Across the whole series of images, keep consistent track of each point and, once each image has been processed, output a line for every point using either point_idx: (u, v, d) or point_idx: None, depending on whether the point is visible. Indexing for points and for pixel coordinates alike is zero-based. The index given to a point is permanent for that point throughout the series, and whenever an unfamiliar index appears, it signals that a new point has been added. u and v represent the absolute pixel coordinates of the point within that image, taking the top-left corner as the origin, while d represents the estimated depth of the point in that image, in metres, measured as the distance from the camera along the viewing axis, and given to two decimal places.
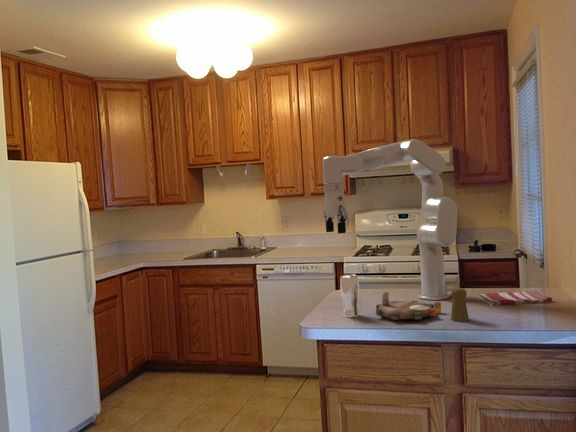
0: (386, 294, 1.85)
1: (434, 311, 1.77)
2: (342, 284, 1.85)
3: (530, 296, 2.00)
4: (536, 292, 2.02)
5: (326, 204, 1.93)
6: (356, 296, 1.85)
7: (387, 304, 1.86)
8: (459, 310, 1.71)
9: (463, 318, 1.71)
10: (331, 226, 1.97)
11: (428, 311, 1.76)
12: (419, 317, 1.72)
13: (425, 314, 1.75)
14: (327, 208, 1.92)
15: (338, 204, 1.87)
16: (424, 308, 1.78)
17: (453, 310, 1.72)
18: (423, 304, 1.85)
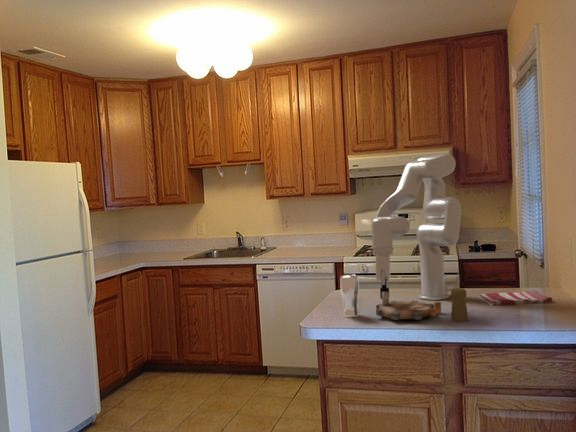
0: (386, 294, 1.85)
1: (434, 311, 1.77)
2: (342, 284, 1.85)
3: (530, 296, 2.00)
4: (536, 292, 2.02)
5: (389, 267, 1.87)
6: (356, 296, 1.85)
7: (387, 304, 1.86)
8: (459, 310, 1.71)
9: (463, 318, 1.71)
10: None
11: (428, 311, 1.76)
12: (419, 317, 1.72)
13: (425, 314, 1.75)
14: None
15: None
16: (424, 308, 1.78)
17: (453, 310, 1.72)
18: (423, 304, 1.85)
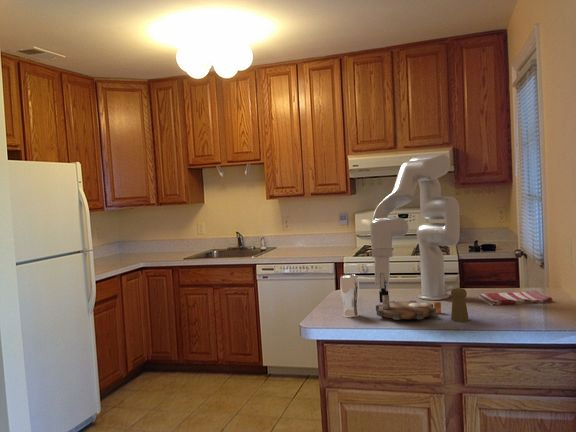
0: (388, 297, 1.80)
1: None
2: (342, 284, 1.85)
3: (530, 296, 1.99)
4: (536, 292, 2.02)
5: (389, 270, 1.81)
6: (356, 296, 1.85)
7: (389, 307, 1.80)
8: (459, 310, 1.71)
9: (463, 318, 1.71)
10: None
11: None
12: (435, 312, 1.77)
13: None
14: (389, 273, 1.82)
15: None
16: (424, 304, 1.84)
17: (453, 310, 1.72)
18: (409, 302, 1.90)
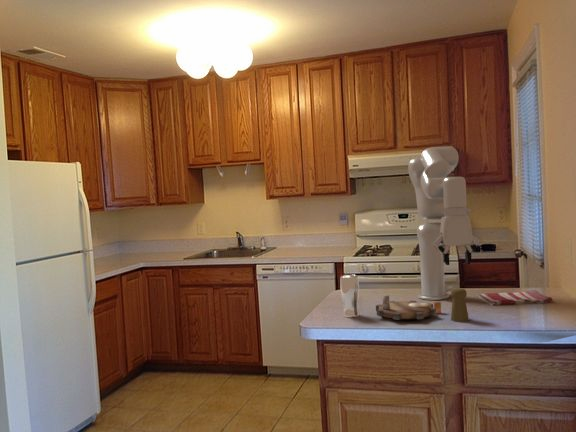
0: (388, 297, 1.80)
1: None
2: (342, 284, 1.85)
3: (530, 296, 1.99)
4: (536, 292, 2.02)
5: (452, 231, 1.70)
6: (356, 296, 1.85)
7: (389, 307, 1.80)
8: (459, 310, 1.71)
9: (463, 318, 1.71)
10: None
11: None
12: (435, 312, 1.77)
13: None
14: (454, 235, 1.70)
15: None
16: (424, 304, 1.84)
17: (453, 310, 1.72)
18: (409, 302, 1.90)
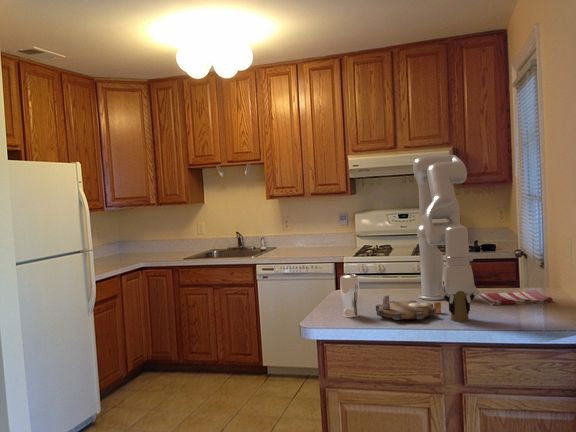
0: (388, 297, 1.80)
1: None
2: (342, 284, 1.85)
3: (530, 296, 1.99)
4: (536, 292, 2.02)
5: (454, 280, 1.71)
6: (356, 296, 1.85)
7: (389, 307, 1.80)
8: (459, 310, 1.71)
9: (463, 318, 1.71)
10: None
11: None
12: (435, 312, 1.77)
13: None
14: (456, 284, 1.71)
15: None
16: (424, 304, 1.84)
17: None
18: (409, 302, 1.90)
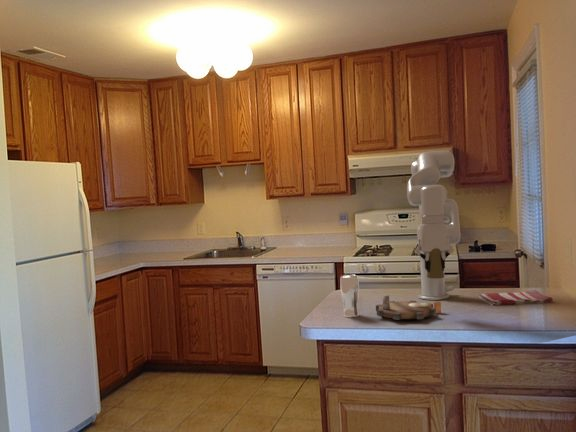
0: (388, 297, 1.80)
1: None
2: (342, 284, 1.85)
3: (530, 296, 1.99)
4: (536, 292, 2.02)
5: (429, 238, 1.76)
6: (356, 296, 1.85)
7: (389, 307, 1.80)
8: (435, 267, 1.76)
9: (438, 274, 1.76)
10: None
11: None
12: (435, 312, 1.77)
13: None
14: (431, 242, 1.76)
15: None
16: (424, 304, 1.84)
17: None
18: (409, 302, 1.90)
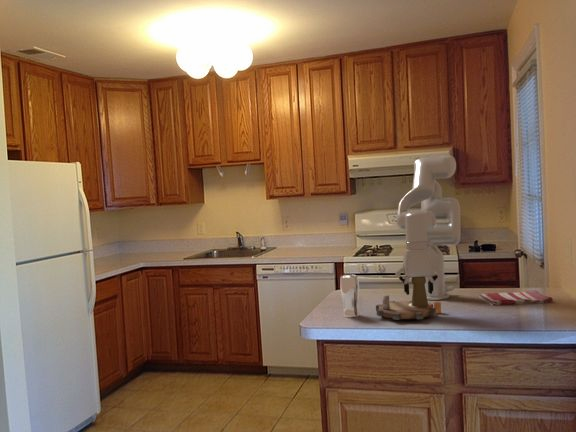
0: (388, 297, 1.80)
1: None
2: (342, 284, 1.85)
3: (530, 296, 1.99)
4: (536, 292, 2.02)
5: (413, 263, 1.80)
6: (356, 296, 1.85)
7: (389, 307, 1.80)
8: (419, 295, 1.81)
9: (422, 303, 1.80)
10: None
11: None
12: (435, 312, 1.77)
13: None
14: (415, 267, 1.80)
15: (431, 262, 1.81)
16: None
17: (413, 296, 1.82)
18: (409, 302, 1.90)
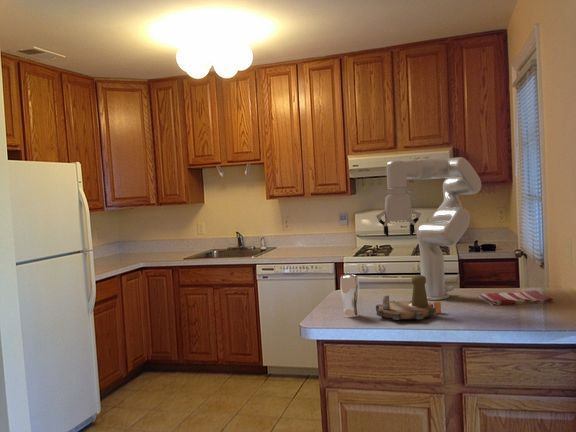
0: (388, 297, 1.80)
1: None
2: (342, 284, 1.85)
3: (530, 296, 1.99)
4: (536, 292, 2.02)
5: (393, 208, 1.94)
6: (356, 296, 1.85)
7: (389, 307, 1.80)
8: (419, 295, 1.81)
9: (422, 303, 1.80)
10: None
11: None
12: (435, 312, 1.77)
13: None
14: (395, 212, 1.94)
15: None
16: None
17: (413, 296, 1.82)
18: (409, 302, 1.90)
